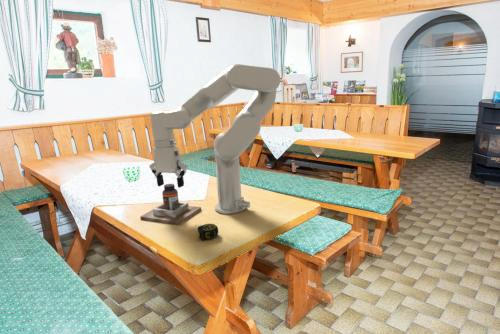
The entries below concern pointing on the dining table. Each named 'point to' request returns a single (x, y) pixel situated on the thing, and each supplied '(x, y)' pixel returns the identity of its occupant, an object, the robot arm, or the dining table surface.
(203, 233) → the tape measure
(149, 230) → the dining table surface
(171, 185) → the supplement bottle
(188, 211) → the holder
